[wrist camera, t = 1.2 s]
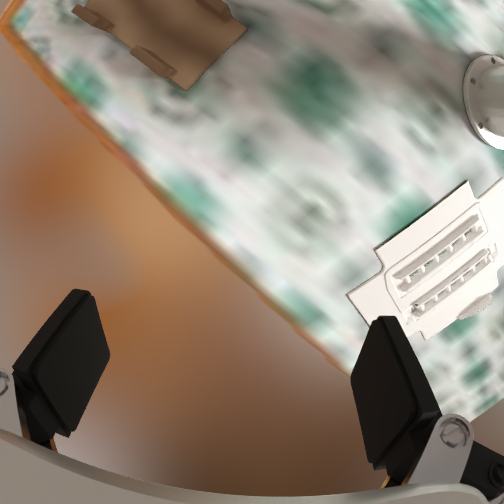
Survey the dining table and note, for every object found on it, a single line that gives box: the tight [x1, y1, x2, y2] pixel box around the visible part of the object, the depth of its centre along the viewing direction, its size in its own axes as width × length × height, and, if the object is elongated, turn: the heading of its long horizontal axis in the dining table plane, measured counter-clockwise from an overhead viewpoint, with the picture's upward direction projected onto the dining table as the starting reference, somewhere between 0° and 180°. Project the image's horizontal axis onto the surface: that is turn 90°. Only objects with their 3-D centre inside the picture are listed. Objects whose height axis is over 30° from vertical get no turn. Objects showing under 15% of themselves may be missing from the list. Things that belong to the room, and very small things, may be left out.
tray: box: [347, 178, 504, 340], centre depth 35 cm, size 20×28×4 cm
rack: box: [71, 0, 247, 91], centre depth 22 cm, size 9×18×5 cm, turn 46°
